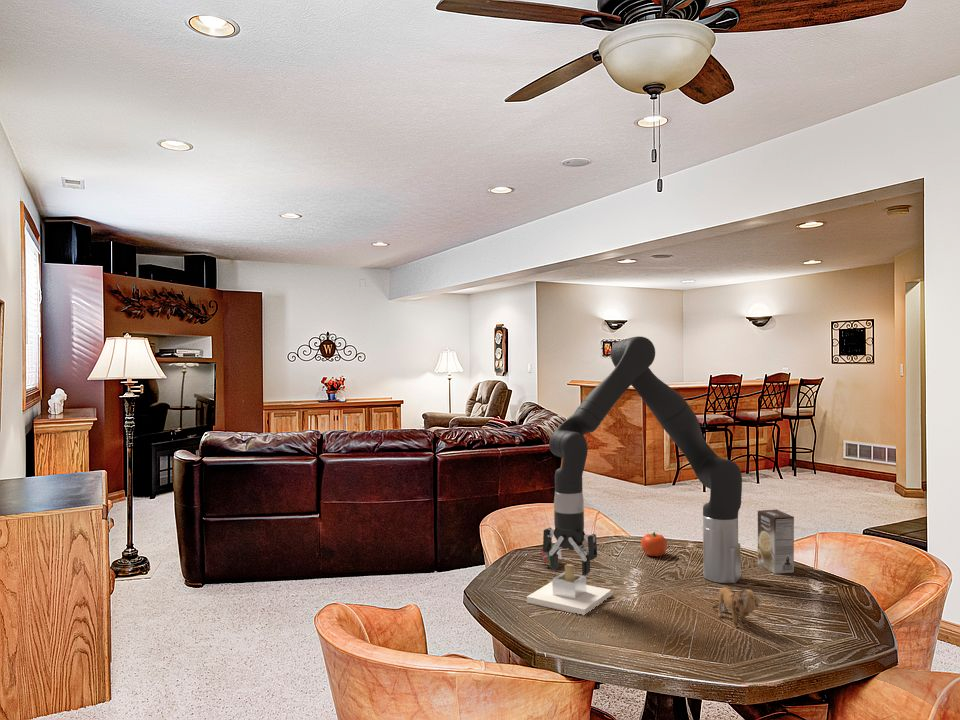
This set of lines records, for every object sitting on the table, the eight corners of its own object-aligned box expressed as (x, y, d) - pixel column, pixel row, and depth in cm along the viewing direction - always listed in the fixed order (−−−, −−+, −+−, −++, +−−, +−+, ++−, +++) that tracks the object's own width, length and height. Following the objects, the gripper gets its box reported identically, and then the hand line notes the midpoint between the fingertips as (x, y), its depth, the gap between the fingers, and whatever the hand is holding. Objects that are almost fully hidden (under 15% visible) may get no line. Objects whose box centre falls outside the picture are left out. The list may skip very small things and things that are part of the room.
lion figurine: (764, 631, 152) (764, 591, 152) (744, 634, 151) (744, 594, 151) (721, 608, 166) (720, 571, 166) (703, 611, 165) (702, 574, 165)
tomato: (666, 559, 206) (666, 535, 205) (639, 557, 208) (639, 533, 208) (668, 552, 213) (668, 529, 213) (642, 550, 215) (641, 527, 215)
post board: (611, 595, 176) (611, 562, 176) (584, 615, 162) (584, 580, 162) (556, 584, 185) (556, 553, 185) (526, 602, 171) (526, 568, 171)
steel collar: (586, 591, 174) (586, 576, 174) (575, 599, 169) (575, 583, 169) (564, 587, 178) (564, 572, 178) (552, 594, 173) (552, 578, 173)
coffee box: (756, 564, 200) (756, 509, 200) (776, 563, 201) (776, 509, 201) (774, 574, 191) (774, 517, 191) (795, 572, 192) (795, 516, 192)
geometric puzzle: (530, 557, 202) (542, 538, 199) (544, 552, 207) (556, 533, 204) (545, 575, 199) (558, 557, 195) (559, 570, 204) (572, 551, 200)
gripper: (600, 509, 172) (601, 572, 173) (551, 503, 180) (552, 563, 181) (588, 515, 166) (589, 581, 166) (537, 508, 174) (538, 571, 174)
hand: (569, 572), depth 173 cm, fingers open, 8 cm apart
